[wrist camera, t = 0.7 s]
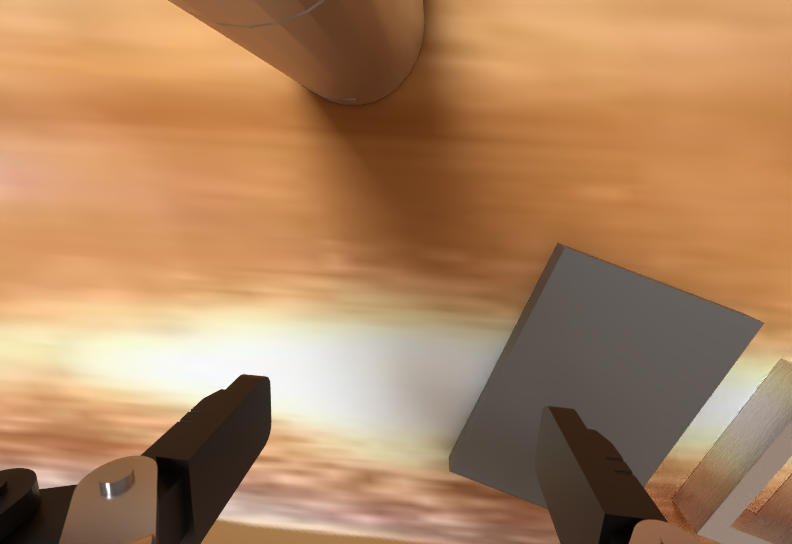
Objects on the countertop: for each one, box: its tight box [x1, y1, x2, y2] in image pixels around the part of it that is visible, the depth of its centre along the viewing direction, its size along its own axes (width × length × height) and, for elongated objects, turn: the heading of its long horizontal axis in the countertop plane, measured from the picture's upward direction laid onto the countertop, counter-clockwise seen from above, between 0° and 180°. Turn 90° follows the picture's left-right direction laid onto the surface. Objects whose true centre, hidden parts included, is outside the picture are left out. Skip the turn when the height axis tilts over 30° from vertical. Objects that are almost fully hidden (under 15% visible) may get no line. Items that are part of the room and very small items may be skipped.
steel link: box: [672, 359, 792, 544], centre depth 27 cm, size 14×8×3 cm, turn 160°
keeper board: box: [449, 243, 764, 509], centre depth 25 cm, size 20×14×8 cm
